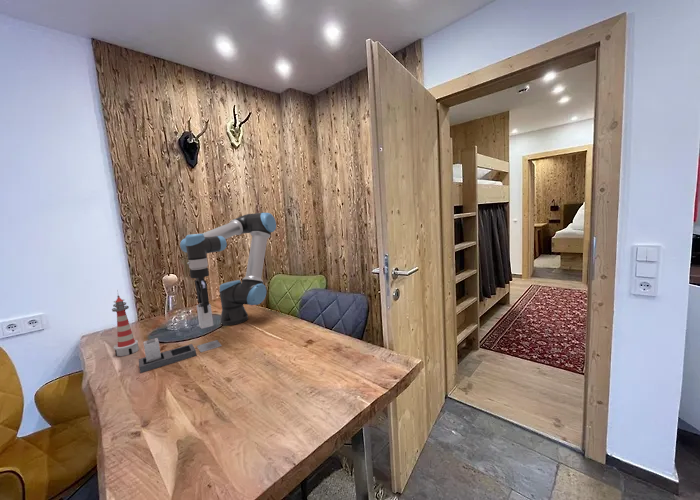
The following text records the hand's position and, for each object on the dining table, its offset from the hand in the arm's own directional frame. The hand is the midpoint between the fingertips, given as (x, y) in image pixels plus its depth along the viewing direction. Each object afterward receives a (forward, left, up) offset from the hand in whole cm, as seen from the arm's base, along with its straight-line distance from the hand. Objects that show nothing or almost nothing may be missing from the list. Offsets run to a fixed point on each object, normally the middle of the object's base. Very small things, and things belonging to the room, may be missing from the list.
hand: (205, 317), depth 134 cm
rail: (+16, +2, -14) cm, 22 cm away
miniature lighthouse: (+30, -24, -14) cm, 41 cm away
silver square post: (+21, +2, -14) cm, 25 cm away
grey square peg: (0, 0, -4) cm, 4 cm away
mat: (0, 0, -14) cm, 14 cm away
